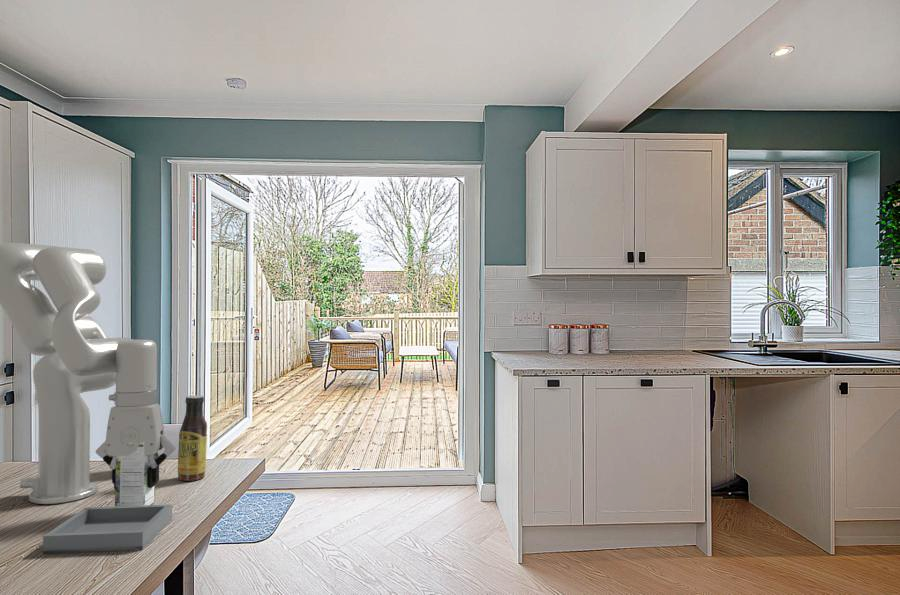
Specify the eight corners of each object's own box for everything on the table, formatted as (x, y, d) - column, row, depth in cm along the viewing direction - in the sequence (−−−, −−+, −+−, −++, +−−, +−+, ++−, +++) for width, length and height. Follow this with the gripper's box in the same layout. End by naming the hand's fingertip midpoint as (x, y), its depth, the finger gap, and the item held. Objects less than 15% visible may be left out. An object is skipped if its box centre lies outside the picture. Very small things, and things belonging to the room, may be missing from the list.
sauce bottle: (171, 481, 139) (172, 397, 140) (189, 473, 146) (189, 393, 146) (196, 483, 138) (196, 398, 138) (212, 475, 144) (212, 394, 144)
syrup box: (127, 503, 124) (127, 434, 124) (156, 502, 124) (156, 434, 125) (114, 513, 118) (114, 441, 118) (144, 512, 119) (145, 440, 119)
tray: (42, 554, 99) (43, 536, 99) (85, 523, 113) (85, 507, 113) (142, 549, 101) (142, 532, 101) (172, 519, 115) (172, 504, 115)
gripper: (83, 403, 117) (82, 493, 117) (173, 401, 119) (172, 490, 119) (101, 397, 124) (100, 482, 124) (185, 395, 126) (185, 479, 126)
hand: (135, 485), depth 121 cm, fingers closed on syrup box, 5 cm apart
